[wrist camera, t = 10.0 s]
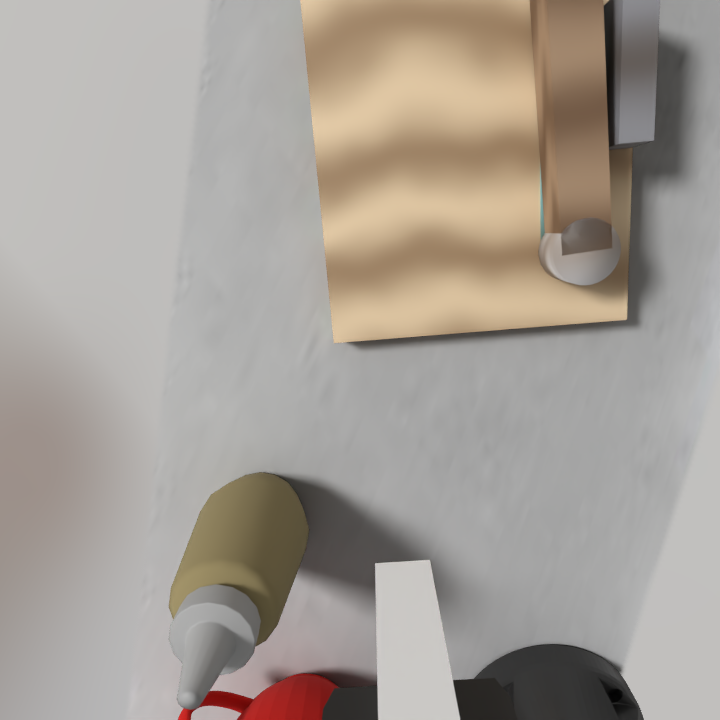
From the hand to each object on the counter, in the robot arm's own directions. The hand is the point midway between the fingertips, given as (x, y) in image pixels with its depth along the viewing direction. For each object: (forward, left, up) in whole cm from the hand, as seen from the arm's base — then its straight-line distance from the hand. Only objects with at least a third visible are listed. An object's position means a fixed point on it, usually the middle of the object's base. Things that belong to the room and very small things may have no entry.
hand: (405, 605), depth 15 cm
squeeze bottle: (-10, +10, -26) cm, 30 cm away
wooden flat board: (+14, -7, -26) cm, 30 cm away
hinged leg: (+14, -12, -23) cm, 30 cm away
